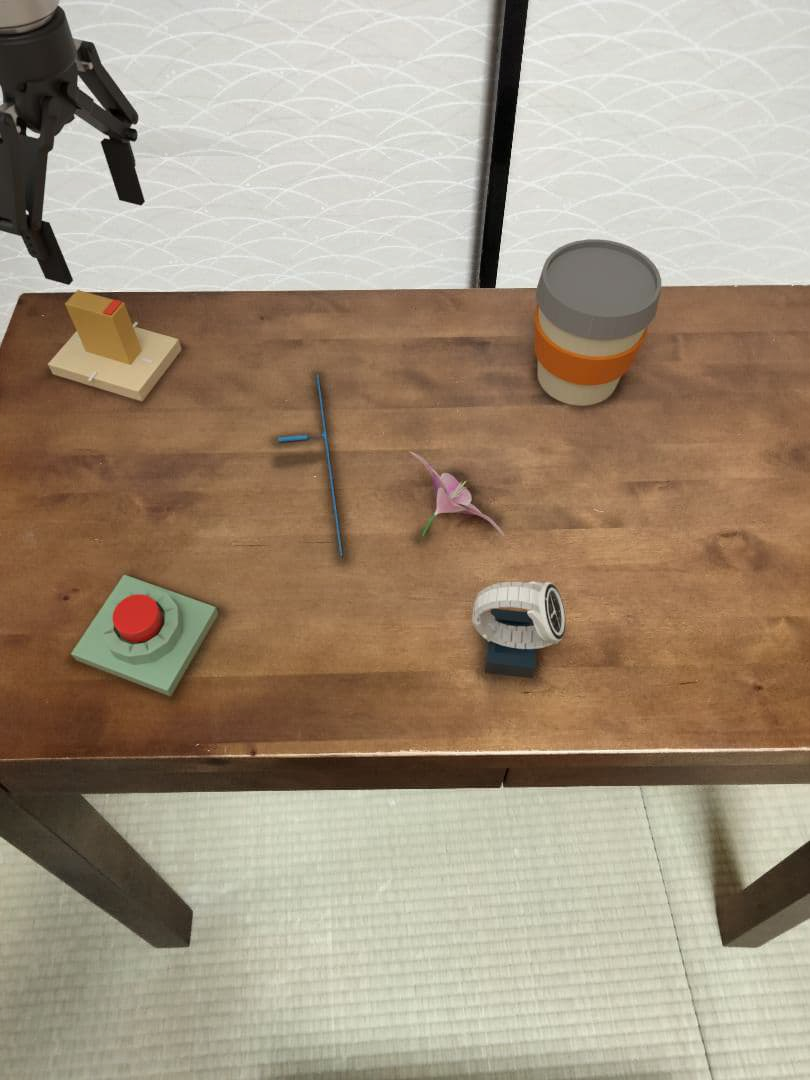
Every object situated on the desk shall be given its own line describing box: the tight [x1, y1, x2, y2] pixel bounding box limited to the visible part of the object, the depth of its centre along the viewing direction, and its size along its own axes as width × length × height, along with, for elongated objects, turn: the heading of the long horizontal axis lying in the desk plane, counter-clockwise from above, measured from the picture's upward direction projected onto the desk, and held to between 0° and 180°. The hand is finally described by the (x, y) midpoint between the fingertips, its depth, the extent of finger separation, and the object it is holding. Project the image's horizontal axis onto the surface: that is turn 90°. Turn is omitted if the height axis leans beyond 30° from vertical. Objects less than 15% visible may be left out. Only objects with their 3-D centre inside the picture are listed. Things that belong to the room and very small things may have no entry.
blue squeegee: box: [277, 374, 343, 558], centre depth 88 cm, size 1×25×5 cm
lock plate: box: [47, 321, 183, 402], centre depth 95 cm, size 12×10×3 cm
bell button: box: [112, 594, 163, 642], centre depth 73 cm, size 4×4×2 cm
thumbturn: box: [64, 289, 141, 364], centre depth 91 cm, size 6×2×7 cm, turn 69°
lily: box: [409, 451, 506, 538], centre depth 81 cm, size 12×12×10 cm
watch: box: [471, 580, 566, 679], centre depth 72 cm, size 6×8×11 cm
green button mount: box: [70, 574, 219, 697], centre depth 75 cm, size 10×9×4 cm
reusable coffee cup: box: [533, 238, 662, 406], centre depth 89 cm, size 13×12×15 cm
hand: (97, 239), depth 84 cm, fingers open, 13 cm apart
